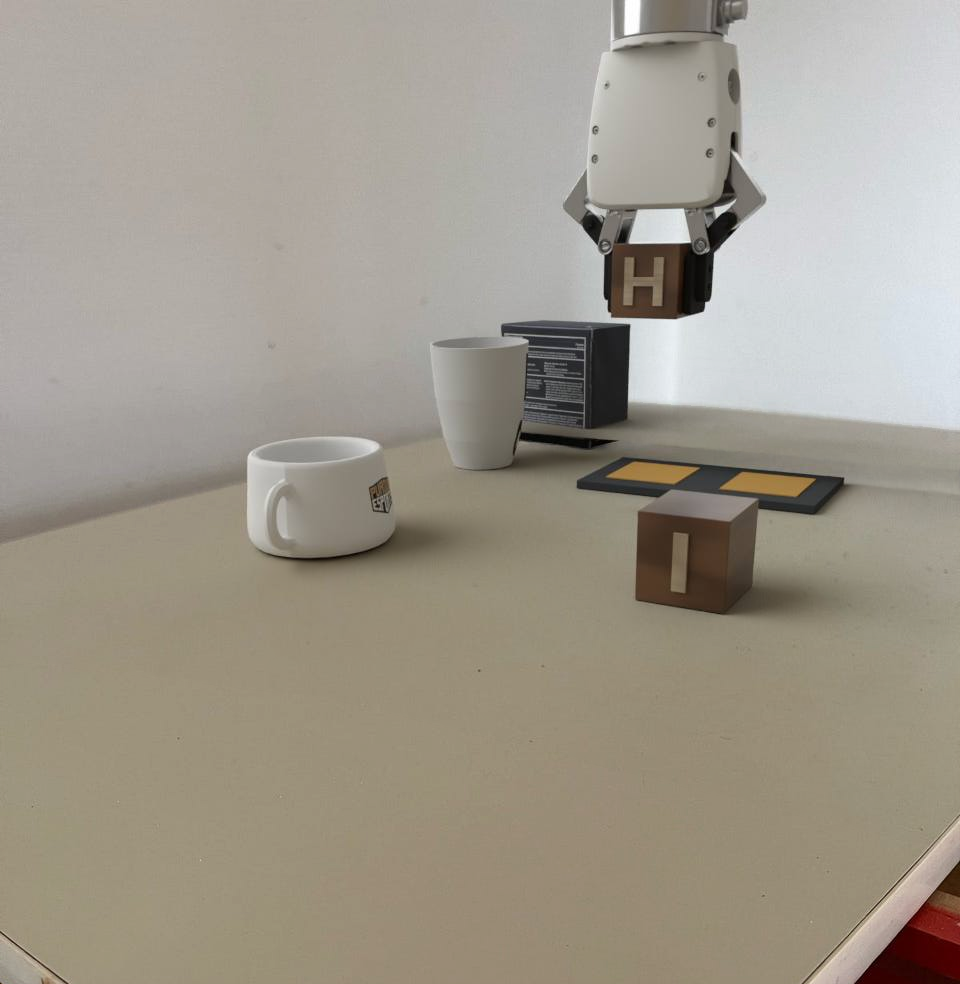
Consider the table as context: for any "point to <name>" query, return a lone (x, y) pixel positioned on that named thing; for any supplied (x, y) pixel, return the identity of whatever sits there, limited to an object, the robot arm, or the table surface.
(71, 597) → the table surface
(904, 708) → the table surface
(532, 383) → the small box
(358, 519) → the mug
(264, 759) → the table surface
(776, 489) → the word mat
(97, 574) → the table surface
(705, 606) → the block
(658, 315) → the letter h block
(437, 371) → the cup
